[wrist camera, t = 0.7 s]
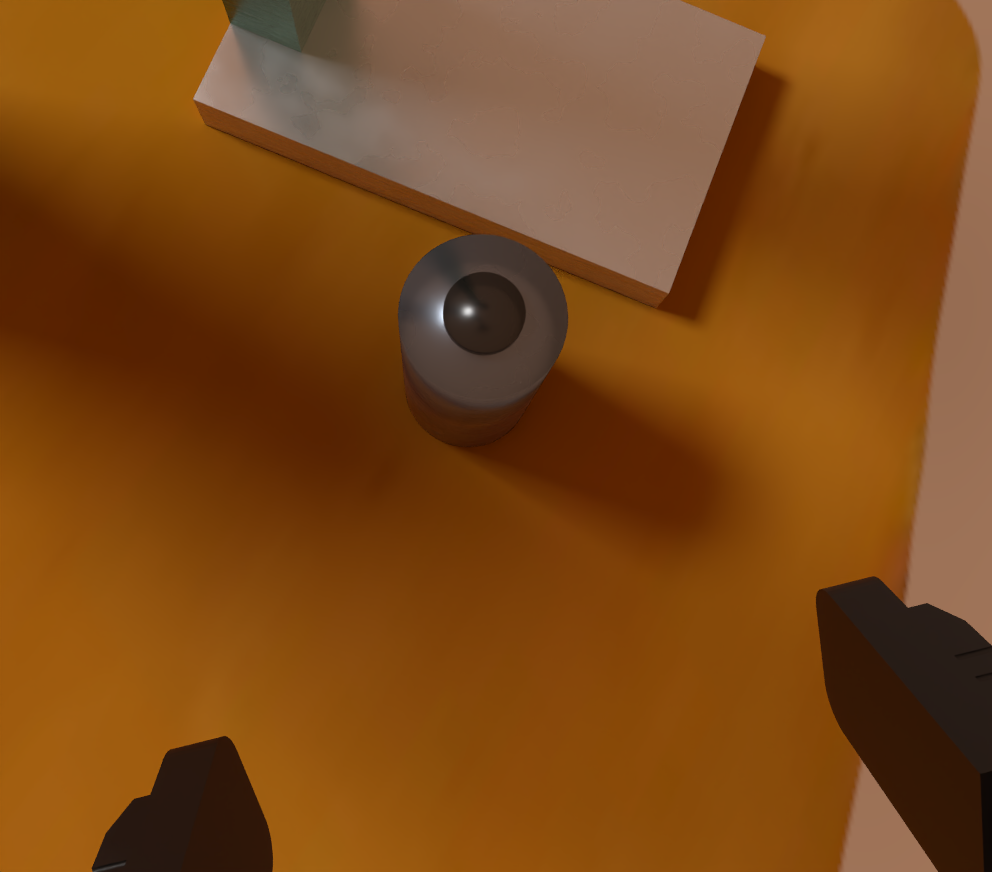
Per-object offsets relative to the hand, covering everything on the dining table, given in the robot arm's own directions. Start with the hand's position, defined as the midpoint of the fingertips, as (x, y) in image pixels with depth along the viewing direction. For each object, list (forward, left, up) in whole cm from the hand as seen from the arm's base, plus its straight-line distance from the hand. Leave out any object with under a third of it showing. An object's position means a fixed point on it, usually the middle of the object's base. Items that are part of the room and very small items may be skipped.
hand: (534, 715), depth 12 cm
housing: (-3, +9, -23) cm, 25 cm away
